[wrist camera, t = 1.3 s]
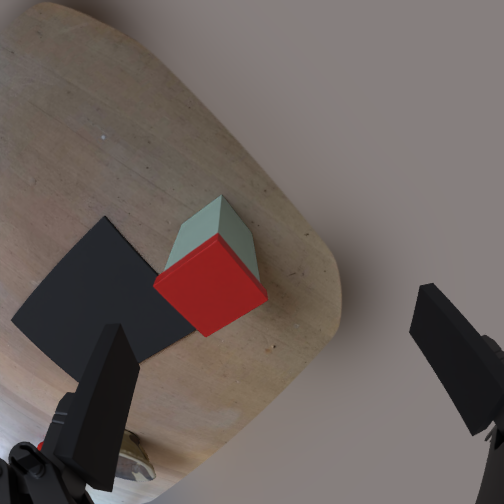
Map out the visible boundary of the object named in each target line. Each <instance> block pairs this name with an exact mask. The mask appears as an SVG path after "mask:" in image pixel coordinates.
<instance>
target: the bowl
mask: <svg viewBox="0 0 504 504" xmlns="http://www.w3.org/2000/svg"><path fill="white" fill-rule="evenodd" d="M139 443H140V442H139V439H138V437H136V436H135V435H134V434H132V433H130V432H128V431H126V430H124V435H123V439H122V444H121V448H120V453H119V458H118V463H117V468H116V473H115V477H119V478H122V479H127V480H132V481H151V480H153V479H155V478H156V474H155V470H154V468H153V466H152V465H151V464H150V463H149V458H148V455H147V453H146V452H145V450H144V449H143V448H142V447H141V446H140V445H139Z"/></svg>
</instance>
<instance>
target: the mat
mask: <svg viewBox="0 0 504 504" xmlns="http://www.w3.org/2000/svg"><path fill="white" fill-rule="evenodd" d="M157 276H159V275H158V274H157V273H156V272H155V271H154V270H153V269H152V268H151V267H150V266H149V264H148V263H147V262H146V261H145V260H144V259H143V258H142V257H141V256H140V255H139V254H138V253H137V251H136V250H135V249H134V248H133V247H132V246H131V245H130V244H129V243H128V241H127V240H126V239H125V238H124V237H123V236H122V235H121V234H120V232H119V231H118V230H117V229H116V228H115V227H114V226H113V224H112V223H111V222H110V221H109V220H108V219H107V217H106V216H104V217H103V218H102V219H101V220H100V221H99V222H98V223H97V224H96V225H95V226H94V227H93V228H92V229H90V230H89V232H88V233H87V234H86V235H85V236H84V237H83V238H82V239H81V240H80V241H79V242H78V243H77V244H76V245H75V246H74V247H73V248H72V249H71V250H70V251H69V252H68V253H67V254H66V255H65V256H64V258H63V259H62V260H61V261H60V262H59V263H58V264H57V265H56V266H55V267H54V269H53V270H52V271H51V272H50V273H49V274H48V275H47V276H46V278H45V279H44V280H43V281H42V282H41V283H40V285H39V286H38V287H37V288H36V289H35V290H34V292H33V293H32V294H31V295H30V296H29V298H28V299H27V300H26V301H25V303H24V304H23V305H22V306H21V308H20V309H19V310H18V311H17V313H16V314H15V315H14V317H13V318H12V319H11V321H12V322H13V323H14V324H15V325H16V326H17V327H18V328H19V329H20V330H21V331H22V332H23V333H24V334H25V335H26V336H27V337H28V338H29V339H30V340H31V341H32V342H33V343H34V344H35V345H36V346H37V347H38V348H39V349H40V350H41V351H42V352H43V353H45V354H46V355H47V356H48V357H49V358H50V359H51V360H52V361H54V362H55V363H56V364H57V365H58V366H59V367H60V368H62V369H63V370H64V371H65V372H66V373H68V374H69V375H70V376H71V377H72V378H74V379H75V380H76V381H77V382H80V380H81V377H82V375H83V373H84V370H85V368H86V366H87V363H88V361H89V359H90V356H91V354H92V352H93V350H94V348H95V345H96V343H97V341H98V339H99V337H100V335H101V332H102V330H103V328H104V326H105V324H114V323H121V325H122V327H123V330H124V332H125V335H126V337H127V339H128V342H129V344H130V346H131V349H132V351H133V353H134V355H135V357H136V360H137V362H138V363H140V362H142V361H143V360H145V359H147V358H149V357H150V356H152V355H154V354H155V353H157V352H159V351H161V350H162V349H164V348H166V347H167V346H169V345H171V344H173V343H174V342H176V341H178V340H179V339H181V338H183V337H184V336H186V335H188V334H189V333H191V332H193V331H194V330H196V328H195V327H194V326H193V325H192V324H191V323H190V322H188V321H187V320H186V319H185V318H184V317H183V316H182V315H181V314H180V313H179V312H178V311H177V310H176V309H175V308H174V307H173V306H172V305H171V304H170V303H169V302H168V301H167V300H166V299H165V298H164V297H163V296H162V295H161V294H160V293H159V292H158V291H157V290H156V289H155V288H154V287H153V285H154V282H155V280H156V277H157Z"/></svg>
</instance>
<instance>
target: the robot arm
mask: <svg viewBox="0 0 504 504" xmlns="http://www.w3.org/2000/svg"><path fill="white" fill-rule="evenodd" d="M409 333H410V335H411V336H412V338H413V339H414V340H415V342H416V343H417V345H418V346H419V348H420V349H421V351H422V353H423V354H424V356H425V357H426V359H427V360H428V362H429V364H430V365H431V367H432V368H433V370H434V371H435V373H436V375H437V376H438V378H439V380H440V381H441V383H442V384H443V386H444V388H445V389H446V391H447V393H448V394H449V396H450V398H451V399H452V401H453V403H454V405H455V406H456V408H457V410H458V411H459V413H460V415H461V417H462V418H463V420H464V422H465V424H466V426H467V427H468V429H469V431H470V433H471V435H472V436H474V435H476V434H478V433H480V432H482V431H483V430H485V429H487V427H488V426H489V425H490V423H491V422H492V421H494V422H495V424H496V425H495V426H494V428H493V429H492V430H491V431H490V433H489V434H488V435H487V436H486V438H485V441H487V440H488V439H489V438H490V437H491V436H492V438H491V440H490V442H491V444H490V449H489V454H488V458H487V463H486V467H485V472H484V476H483V479H482V483H481V487H480V490H479V494H478V497H477V500H476V503H475V504H504V351H502V350H501V348H500V347H499V345H498V344H497V343H496V342H495V341H494V340H493V339H491V338H489V337H488V336H487V335H483V336H480V334H479V333H478V332H477V331H476V330H475V329H474V328H473V326H472V325H471V324H470V323H469V322H468V320H467V319H466V318H465V317H464V316H463V315H462V314H461V313H460V311H459V310H458V309H457V308H456V307H455V306H454V305H453V304H452V303H451V302H450V300H449V299H448V298H447V297H446V296H445V295H444V294H443V293H442V292H441V291H440V290H439V289H438V288H437V287H436V286H435V285H434V283H430V284H425V285H421V286H420V287H419V292H418V297H417V301H416V306H415V310H414V315H413V319H412V323H411V327H410V331H409ZM139 370H140V366H139V364H138V362H137V360H136V357H135V355H134V353H133V351H132V349H131V346H130V344H129V342H128V339H127V337H126V335H125V332H124V330H123V327H122V325H121V323H114V324H105V326H104V328H103V330H102V332H101V335H100V337H99V339H98V341H97V343H96V345H95V348H94V350H93V352H92V354H91V356H90V359H89V361H88V363H87V366H86V368H85V370H84V373H83V375H82V377H81V380H80V382H79V385H78V387H77V389H76V392H75V393H71V392H67V393H66V394H65V396H64V397H63V398H62V399H61V400H60V401H59V404H58V406H57V408H56V411H55V414H54V416H53V418H52V423H50V426H49V429H48V431H47V434H46V437H45V439H44V442H43V445H42V448H41V450H40V451H39V450H38V449H37V448H36V447H35V446H34V445H33V444H31V443H30V442H20V443H18V444H16V445H15V446H14V447H13V448H12V450H11V451H10V454H9V457H8V459H9V464H10V465H9V464H7V463H6V462H5V461H4V460H2V459H1V458H0V504H94V502H93V500H92V499H91V497H90V495H89V493H88V492H87V491H86V490H85V487H86V483H87V484H88V485H90V486H91V487H92V488H93V489H97V490H102V491H107V492H112V489H113V484H114V478H115V473H116V468H117V463H118V458H119V453H120V448H121V444H122V439H123V435H124V430H125V426H126V422H127V417H128V413H129V409H130V405H131V401H132V397H133V393H134V389H135V385H136V382H137V378H138V374H139Z"/></svg>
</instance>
